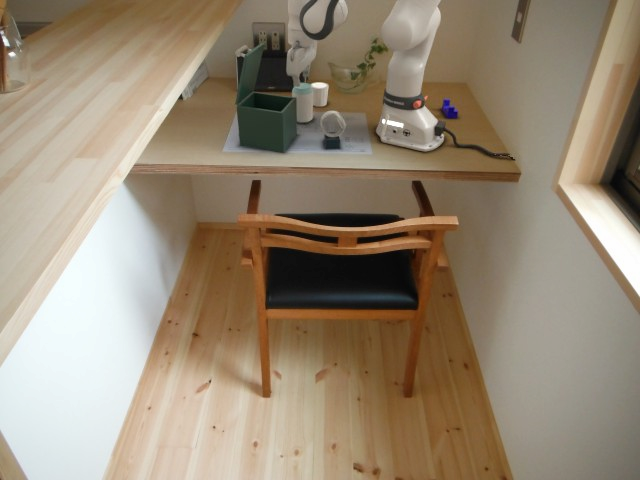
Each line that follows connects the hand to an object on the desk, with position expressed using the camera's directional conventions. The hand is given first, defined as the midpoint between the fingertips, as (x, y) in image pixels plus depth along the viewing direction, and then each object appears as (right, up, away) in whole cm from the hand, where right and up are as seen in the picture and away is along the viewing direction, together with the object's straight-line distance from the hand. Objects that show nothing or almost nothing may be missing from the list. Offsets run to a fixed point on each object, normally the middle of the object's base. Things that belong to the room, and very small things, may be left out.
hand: (301, 81), depth 152 cm
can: (0, -11, +8) cm, 14 cm away
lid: (-14, -4, -16) cm, 22 cm away
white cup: (+6, -2, +20) cm, 21 cm away
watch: (+10, -23, -6) cm, 25 cm away
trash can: (-10, -21, -5) cm, 24 cm away
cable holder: (+53, -7, +15) cm, 56 cm away
